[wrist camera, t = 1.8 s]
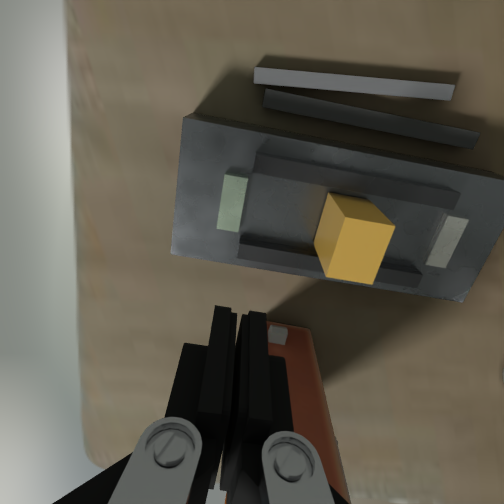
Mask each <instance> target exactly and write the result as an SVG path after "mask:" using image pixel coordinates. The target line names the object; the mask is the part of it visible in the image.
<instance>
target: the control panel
mask: <svg viewBox="0 0 504 504" xmlns="http://www.w3.org/2000/svg"><path fill="white" fill-rule="evenodd" d="M267 336H268V352H269V355H274V356H281V357H284V358H285V361H286V368H287V377H288V385H289V393H290V402H291V410H292V418H293V427H294V433H297V434H299V435H302V436H303V437H304V438H306V439H307V440H308V441H310V443H311V444H312V445H313V446H314V447H315V449H316V451H317V453H318V455H319V457H320V460H321V463H322V466H323V469H324V472H325V475H326V478H327V481H328V483H329V484H330V485H331V486H332V487H333V488H334V489H335V490H336V491H337V492H338V493H339V494H340V495H341V496H342V497H343V498H344V499H345V500H346V501H347V502H348V503H349V504H351V501H350V496H349V492H348V488H347V483H346V479H345V475H344V470H343V466H342V462H341V457H340V453H339V449H338V441H337V440H336V437H335V436H334V432H333V427H332V423H331V418H330V414H329V410H328V405H327V401H326V396H325V392H324V388H323V383H322V379H321V375H320V370H319V366H318V361H317V357H316V353H315V348H314V344H313V339H312V335H311V331H310V329H308V328H303V327H297V326H292V325H287V324H281V323H276V322H271V321H267ZM226 495H227V493H226ZM225 504H226V499H225Z"/></svg>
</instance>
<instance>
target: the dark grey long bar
mask: <svg viewBox="0 0 504 504" xmlns="http://www.w3.org/2000/svg"><path fill="white" fill-rule="evenodd" d="M262 107H265V108H270V109H275V110H280V111H285V112H290V113H295V114H300V115H305V116H310V117H315V118H320V119H324V120H329V121H334V122H339V123H344V124H349V125H354V126H359V127H364V128H369V129H374V130H379V131H384V132H389V133H394V134H399V135H404V136H409V137H414V138H419V139H423V140H428V141H433V142H438V143H443V144H448V145H453V146H458V147H463V148H468V149H474V146H475V144H476V142H477V140H478V138H479V135H480V133H479V132H474V131H470V130H465V129H460V128H455V127H450V126H445V125H440V124H436V123H431V122H426V121H421V120H416V119H411V118H407V117H402V116H397V115H392V114H387V113H382V112H377V111H373V110H368V109H363V108H358V107H353V106H348V105H344V104H339V103H334V102H329V101H324V100H319V99H314V98H310V97H305V96H300V95H295V94H290V93H285V92H281V91H276V90H271V89H266V88H265V93H264V99H263V104H262Z"/></svg>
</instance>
